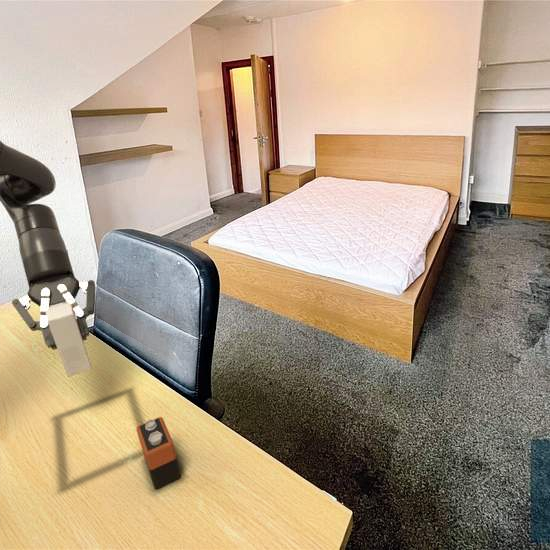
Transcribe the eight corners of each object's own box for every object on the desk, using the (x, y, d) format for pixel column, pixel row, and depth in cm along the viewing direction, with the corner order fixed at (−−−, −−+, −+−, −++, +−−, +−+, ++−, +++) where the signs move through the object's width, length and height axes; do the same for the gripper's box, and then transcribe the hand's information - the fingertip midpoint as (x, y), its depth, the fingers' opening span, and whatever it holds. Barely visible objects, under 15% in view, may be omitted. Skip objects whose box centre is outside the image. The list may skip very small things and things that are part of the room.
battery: (156, 495, 65) (143, 450, 60) (146, 464, 70) (134, 421, 66) (183, 482, 66) (172, 438, 62) (171, 453, 72) (160, 410, 68)
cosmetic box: (63, 361, 77) (43, 306, 72) (87, 353, 79) (70, 298, 74) (67, 378, 72) (46, 321, 67) (92, 369, 74) (74, 313, 69)
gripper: (-5, 259, 69) (18, 353, 65) (84, 240, 75) (111, 325, 71) (7, 276, 76) (28, 362, 72) (88, 257, 82) (113, 336, 77)
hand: (69, 343), depth 71 cm, fingers closed on cosmetic box, 4 cm apart
